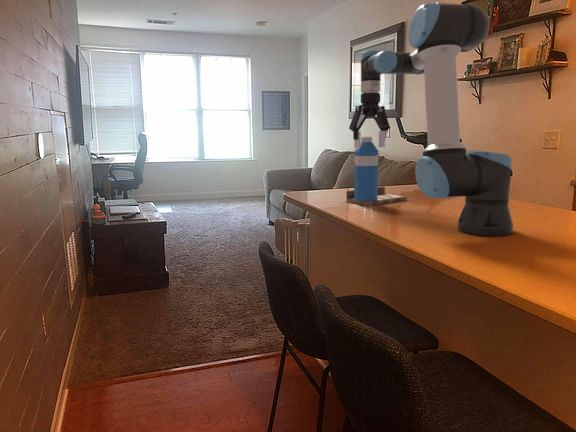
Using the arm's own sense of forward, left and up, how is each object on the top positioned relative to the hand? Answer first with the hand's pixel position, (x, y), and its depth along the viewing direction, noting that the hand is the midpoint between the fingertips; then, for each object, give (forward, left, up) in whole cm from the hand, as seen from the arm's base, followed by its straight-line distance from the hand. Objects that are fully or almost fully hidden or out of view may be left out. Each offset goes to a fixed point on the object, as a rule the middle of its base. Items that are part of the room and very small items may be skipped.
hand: (369, 147), depth 181 cm
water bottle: (-2, 0, -21) cm, 21 cm away
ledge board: (+6, +1, -22) cm, 23 cm away
